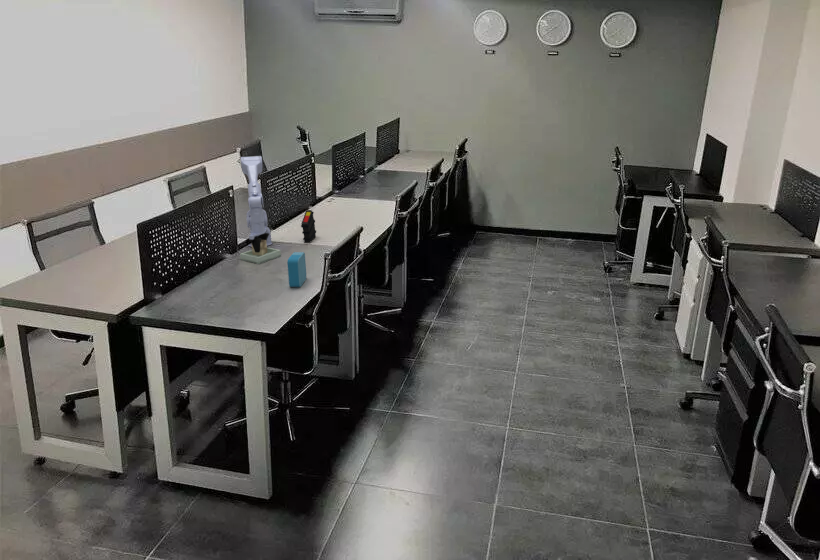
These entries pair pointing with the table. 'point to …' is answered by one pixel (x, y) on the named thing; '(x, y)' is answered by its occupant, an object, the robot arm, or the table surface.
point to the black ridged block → (308, 226)
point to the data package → (296, 269)
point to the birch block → (261, 248)
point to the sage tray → (260, 256)
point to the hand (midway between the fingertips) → (260, 250)
